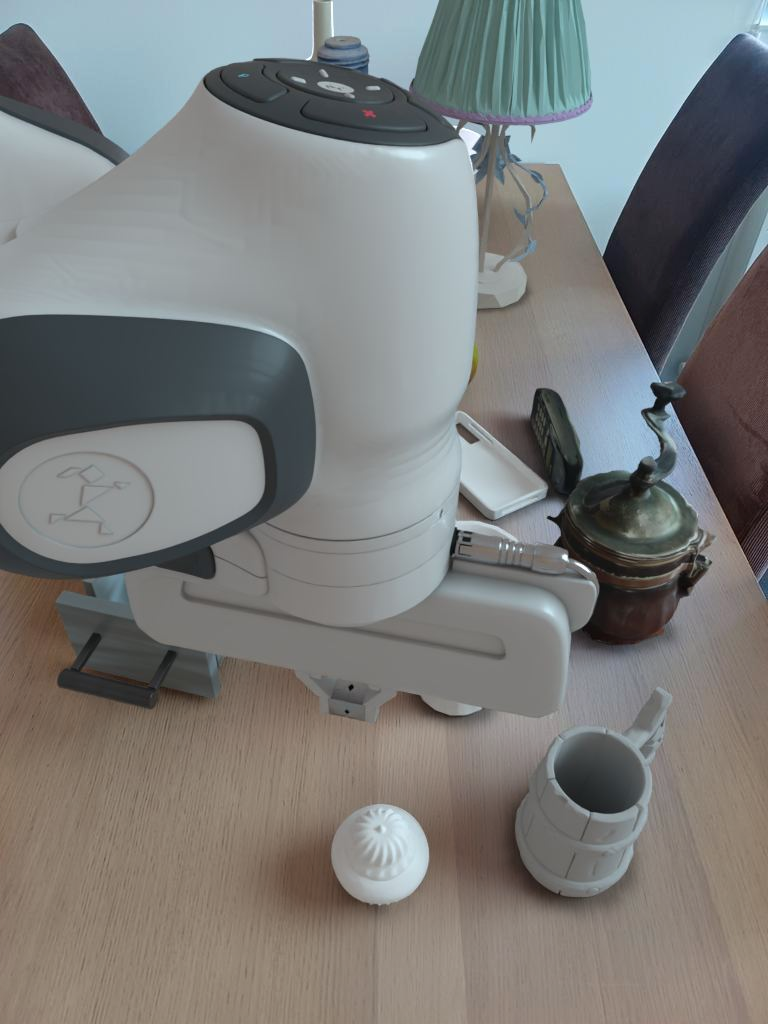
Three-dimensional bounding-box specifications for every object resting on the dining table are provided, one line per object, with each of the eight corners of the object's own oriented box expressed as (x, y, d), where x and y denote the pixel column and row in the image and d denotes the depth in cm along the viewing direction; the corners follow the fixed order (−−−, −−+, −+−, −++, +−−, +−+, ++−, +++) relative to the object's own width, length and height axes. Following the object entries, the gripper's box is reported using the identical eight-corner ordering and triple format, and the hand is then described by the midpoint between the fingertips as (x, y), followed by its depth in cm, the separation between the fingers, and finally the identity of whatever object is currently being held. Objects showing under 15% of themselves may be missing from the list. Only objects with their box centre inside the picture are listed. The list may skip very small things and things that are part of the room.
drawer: (189, 753, 58) (172, 690, 53) (47, 717, 60) (16, 653, 54) (280, 565, 72) (273, 500, 66) (162, 540, 73) (146, 475, 68)
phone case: (405, 439, 86) (490, 522, 77) (405, 429, 86) (492, 512, 76) (460, 418, 89) (549, 496, 80) (461, 408, 89) (551, 486, 79)
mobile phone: (531, 384, 86) (567, 471, 75) (558, 383, 87) (598, 470, 75) (524, 422, 90) (558, 511, 78) (551, 421, 90) (588, 509, 79)
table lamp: (542, 252, 120) (596, -76, 93) (570, 326, 105) (646, -43, 77) (397, 251, 120) (409, -81, 92) (404, 326, 104) (421, -48, 76)
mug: (488, 842, 54) (511, 748, 46) (592, 737, 60) (629, 638, 52) (580, 930, 50) (623, 844, 42) (681, 808, 57) (736, 713, 48)
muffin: (397, 944, 50) (401, 899, 45) (314, 894, 52) (309, 845, 47) (442, 858, 54) (450, 807, 49) (362, 814, 56) (363, 762, 51)
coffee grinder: (673, 546, 76) (733, 385, 63) (683, 673, 65) (758, 510, 53) (537, 524, 77) (570, 364, 65) (525, 645, 67) (562, 481, 54)
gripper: (610, 504, 33) (556, 696, 43) (148, 431, 36) (193, 625, 46) (607, 621, 29) (547, 806, 38) (79, 526, 32) (145, 719, 41)
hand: (351, 707), depth 42 cm, fingers closed
